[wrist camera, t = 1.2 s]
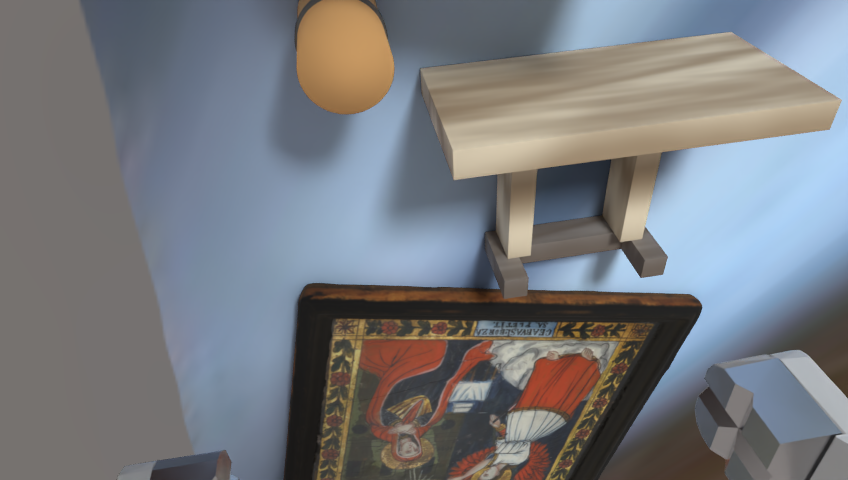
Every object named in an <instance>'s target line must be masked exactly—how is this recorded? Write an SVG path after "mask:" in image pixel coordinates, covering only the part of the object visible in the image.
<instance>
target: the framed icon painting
mask: <svg viewBox="0 0 848 480" xmlns="http://www.w3.org/2000/svg"><path fill="white" fill-rule="evenodd" d="M701 310H702V304H701V303H700V301H699V300H698V299H697V298H695V297H694V296H692V295H690V294H664V293H622V292H598V291H547V290H528V291H527V296H521V297H514V298H508V299H504V298H503V295H502V293H501V290H500V289H480V288H453V287H437V288H432V287H412V286H380V285H339V284H325V283H312V284H308V285H306V286H305V287H304V289H303V291H302V293H301V295H300V298H299V302H298V319H297V330H296V342H295V354H294V367H293V378H292V390H291V400H290V412H289V424H288V436H287V450H286V459H285V470H284V480H598V479H599V477H600V475H601V473H602V472H603V470H604V469H605V467H606V465H607V464H608V462H609V461H610V459H611V458H612V456H613V455H614V453H615V451H616V450H617V448H618V446H619V445H620V443H621V442H622V440H623V438H624V437H625V435H626V433H627V432H628V430H629V428H630V427H631V425H632V424H633V422H634V421H635V419H636V417H637V416H638V414H639V413H640V411H641V410H642V408H643V406H644V405H645V403H646V402H647V400H648V399H649V397H650V395H651V394H652V392H653V391H654V389H655V387H656V386H657V384H658V383H659V381H660V379H661V378H662V376H663V375H664V373H665V372H666V371H667V370H668V369H669V367H670V365H671V363H672V361H673V360H674V358H675V356H676V354H677V352H678V351H679V349H680V347H681V346H682V344H683V343H684V341H685V339H686V337H687V336H688V334H689V333H690V331H691V329H692V328H693V326H694V325H695V323H696V321H697V319H698V318H699V316H700V313H701Z"/></svg>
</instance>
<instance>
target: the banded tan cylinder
mask: <svg viewBox="0 0 848 480" xmlns="http://www.w3.org/2000/svg"><path fill="white" fill-rule="evenodd" d="M295 47H296V51H297V76H298V80H299V83H300V85H301V87H302V89H303V91H304V92H305V94H306V95H307V96H308V98H309V99H310V100H311V101H312V102H314V103H315V104H316V105H318V106H319V107H321V108H323V109H325V110H327V111H330V112H333V113H338V114H355V113H359V112H363V111H365V110H368V109H370V108H371V107H373V106H375V105H376V104H377V103H378V102H380V101H381V100H382V99H383V97H384V96H385V95H386V93H387V92H388V90H389V88H390V86H391V84H392V81H393V77H394V60H393V56H392V52H391V49H390V46H389V43H388V35H387V30H386V26H385V23H384V20H383V18H382V16H381V14H380V12H379V11H378V8H377V5H376V2H375V0H299V3H298V9H297V22H296V27H295Z"/></svg>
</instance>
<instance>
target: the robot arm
mask: <svg viewBox="0 0 848 480" xmlns="http://www.w3.org/2000/svg"><path fill="white" fill-rule="evenodd" d="M704 379H705V381H706V382H707V384H708V385H709V387H708V388H706V389H705V390H704V391H703V392H702V393H701V394H700V395H699V396H698V399H697V403H696V406H695V413H696V420H697V425H698V427H699V430H700V432H701V435H702V437H703V439H704V440H705V442H706V443H707V445H708V447H709V448H710V449H711V450H712V451H714V452H715V453H717V454H718V455H720V456H722V457H723V458H725V459H726V462H725V474H726V476H727V477H728V479H729V480H848V398H847V397H846V396H845V395H844V394H843V393H842V392H841V391H840V390H839V388H838V387H837V386H836V385H835V384H834V383H833V382H832V381H831V380H830V379H829V378H828V376H827V375H826V374H825V373H824V372H823V371H822V370H821V369H820V368H819V367H818V366H817V364H816V363H815V362H814V361H813V360H812V359H811V358H810V357H809V356H808V355H807V354H805V353H803V352H802V351H800V350H791V351H786V352H781V353H776V354H771V355H760V356H755V357H749V358H744V359H739V360H734V361H729V362H723V363H718V364H714V365H712V366H711V367H710V368H708V370H707V372H706V375H705V378H704ZM230 471H231V460H230V458H229V456H228V454H227V452H226V450H223V451H216V452H210V453H203V454H197V455H191V456H184V457H178V458H172V459H165V460H157V461H152V462H145V463H140V464H134V465H128V466H124V467H123V469H122V471H121V472H120V474H119V475H118V477H117V479H116V480H239V478H238V477H236V476H234V475H232V474H230Z"/></svg>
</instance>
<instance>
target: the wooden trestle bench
mask: <svg viewBox="0 0 848 480" xmlns="http://www.w3.org/2000/svg"><path fill="white" fill-rule="evenodd" d="M420 74H421V91H422V96H423V99H424V102H425V104H426V107H427V110H428V112H429V115H430V118H431V120H432V123H433V126H434V128H435V131H436V134H437V137H438V139H439V142H440V145H441V147H442V150H443V153H444V155H445V158H446V161H447V163H448V166H449V169H450V171H451V174H452V177H453V180H459V179H466V178H473V177H481V176H488V175H496V174H497V209H496V231H490V232H485V251H486V254H487V256H488V259H489V261H490V264H491V267H492V269H493V272H494V275H495V277H496V280H497V282H498V285H499V288H500V290H501V293H502V295H503V298H504V299H508V298H514V297H521V296H527V291H528V276H527V273H526V271H525V269H524V267H523V264H522V263H529V262H535V261H542V260H549V259H556V258H562V257H569V256H576V255H582V254H589V253H596V252H602V251H609V250H616V249H622V251H623V252H624V254H625V255H626V257H627V258H628V260H629V261H630V263H631V264H632V266H633V267H634V269H635V270H636V272H637V273H638V275H639V276H640V278H644V277H650V276H657V275H663V273H664V269H665V265H666V261H667V258H668V256H667V255H666V254H665V252H664V251H663V250H662V248H661V247H660V246H659V244H658V243H657V242H656V240H655V239H654V238H653V236H652V235H651V234H650V232H649V231H648V230H647V228H646V227H645V224H646V220H647V216H648V211H649V207H650V202H651V198H652V194H653V189H654V185H655V180H656V176H657V172H658V167H659V163H660V158H661V154H662V152H667V151H674V150H681V149H689V148H696V147H704V146H711V145H718V144H726V143H733V142H741V141H748V140H756V139H763V138H770V137H778V136H785V135H793V134H800V133H808V132H815V131H822V130H830V127H831V125H832V122H833V120H834V118H835V115H836V113H837V111H838V108H839V106H840V103H841V101H842V100H841V99H839V98H838V97H836V96H835V95H833V94H831V93H830V92H828V91H826V90H825V89H823V88H821V87H820V86H818V85H817V84H815V83H813V82H812V81H810V80H808V79H807V78H805V77H804V76H802V75H800V74H799V73H797V72H795V71H794V70H792V69H790V68H789V67H787V66H786V65H784V64H782V63H781V62H779V61H777V60H776V59H774V58H773V57H771V56H769V55H768V54H766V53H764V52H763V51H761V50H759V49H758V48H756V47H755V46H753V45H751V44H750V43H748V42H746V41H745V40H743V39H742V38H740V37H738V36H737V35H735V34H733V33H732V32H727V33H719V34H710V35H702V36H693V37H684V38H676V39H667V40H659V41H650V42H642V43H633V44H624V45H616V46H607V47H599V48H590V49H581V50H573V51H564V52H556V53H547V54H538V55H530V56H521V57H513V58H504V59H495V60H487V61H478V62H470V63H461V64H453V65H444V66H435V67H427V68H420ZM607 159H611V165H610V171H609V177H608V183H607V189H606V195H605V201H604V207H603V213H602V215H601V216H594V217H587V218H580V219H573V220H566V221H559V222H552V223H545V224H538V225H533V218H534V206H535V193H536V180H537V169H540V168H548V167H555V166H563V165H570V164H577V163H585V162H592V161H600V160H607Z"/></svg>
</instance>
